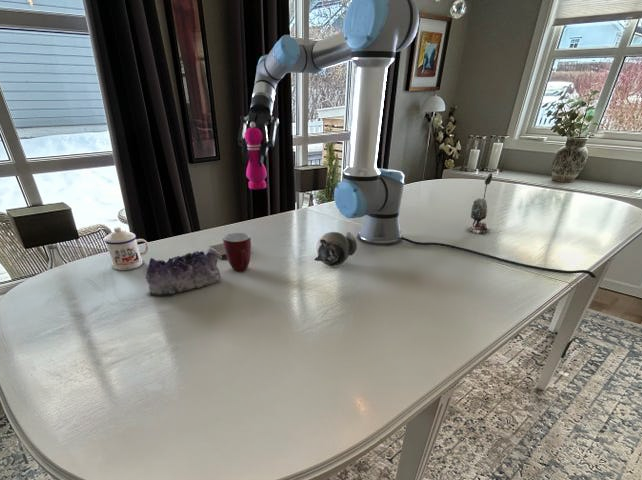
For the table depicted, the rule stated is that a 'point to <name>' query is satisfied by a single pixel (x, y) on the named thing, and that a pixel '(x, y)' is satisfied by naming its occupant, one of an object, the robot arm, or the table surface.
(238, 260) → the mug
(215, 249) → the grey angular chunk
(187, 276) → the geode
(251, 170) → the pepper mill
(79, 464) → the table surface
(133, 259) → the teacup with lid
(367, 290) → the table surface
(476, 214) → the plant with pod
